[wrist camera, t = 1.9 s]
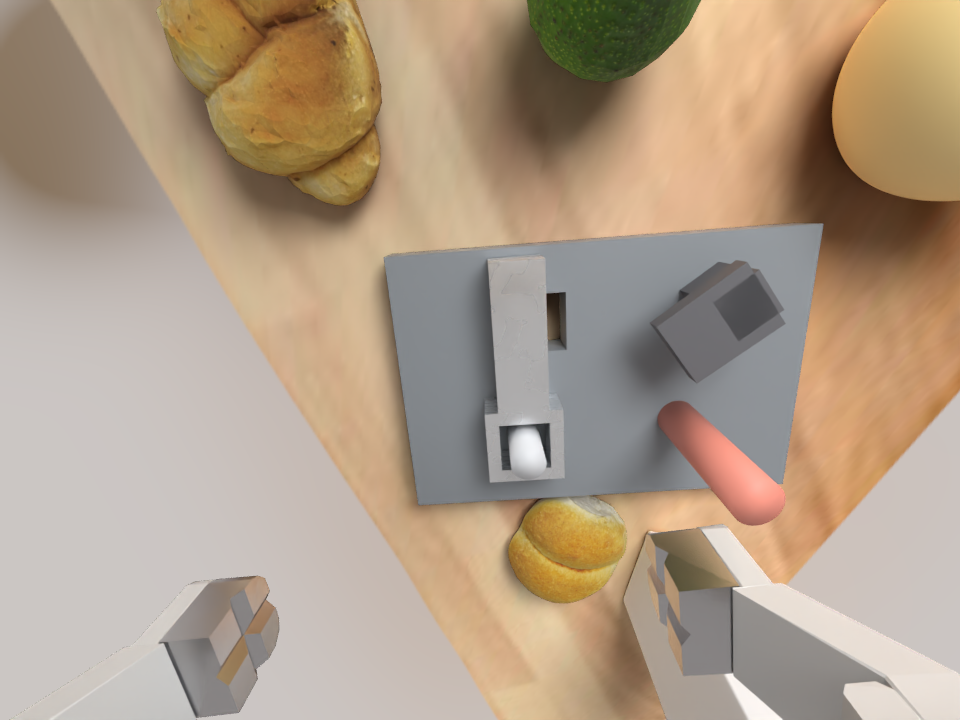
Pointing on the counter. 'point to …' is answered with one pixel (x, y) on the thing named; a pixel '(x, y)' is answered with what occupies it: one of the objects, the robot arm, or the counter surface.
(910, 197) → the sculpture
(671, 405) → the peg
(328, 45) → the bread roll
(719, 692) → the milk carton
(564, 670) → the counter surface
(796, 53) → the counter surface
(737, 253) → the board
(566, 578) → the bread roll
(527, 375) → the link
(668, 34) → the avocado
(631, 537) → the counter surface
